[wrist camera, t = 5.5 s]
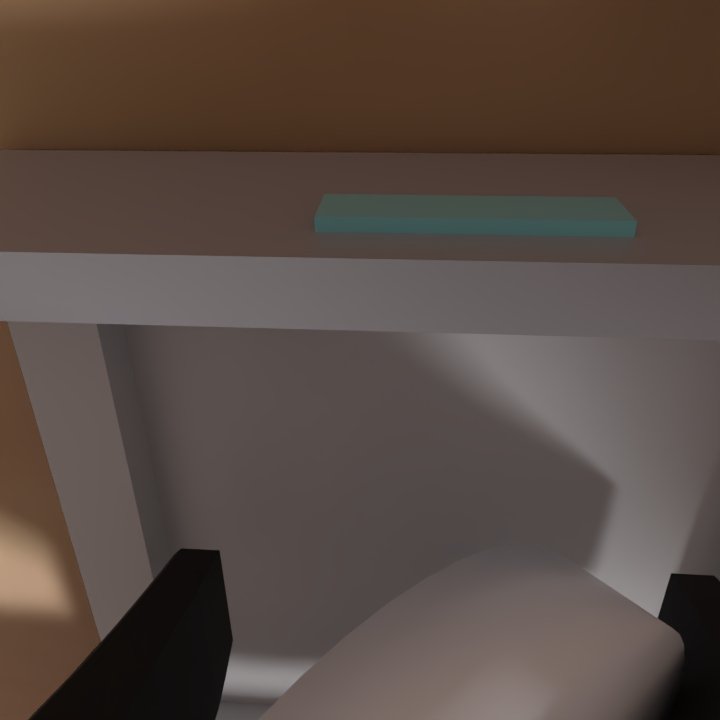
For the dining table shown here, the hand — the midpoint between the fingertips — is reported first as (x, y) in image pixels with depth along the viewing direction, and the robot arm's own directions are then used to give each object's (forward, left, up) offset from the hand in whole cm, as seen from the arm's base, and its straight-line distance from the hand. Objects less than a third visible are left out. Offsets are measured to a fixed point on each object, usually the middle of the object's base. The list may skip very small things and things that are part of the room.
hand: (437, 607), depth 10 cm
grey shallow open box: (0, +1, -3) cm, 3 cm away
